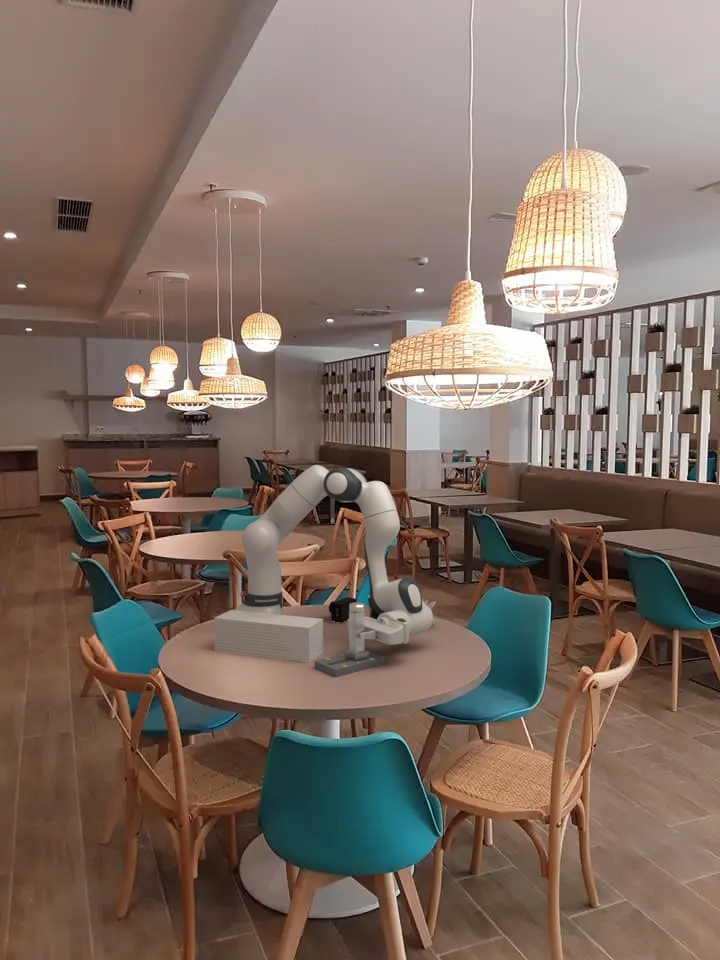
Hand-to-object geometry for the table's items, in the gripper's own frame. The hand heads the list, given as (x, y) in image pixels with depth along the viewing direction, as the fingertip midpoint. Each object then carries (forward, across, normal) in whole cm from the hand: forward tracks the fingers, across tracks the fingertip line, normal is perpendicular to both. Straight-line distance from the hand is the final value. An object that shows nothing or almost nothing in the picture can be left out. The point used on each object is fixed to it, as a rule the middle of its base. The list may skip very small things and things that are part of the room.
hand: (354, 634), depth 217 cm
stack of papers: (+13, -26, +10) cm, 31 cm away
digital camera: (-29, -42, +9) cm, 52 cm away
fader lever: (-1, 0, +7) cm, 7 cm away
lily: (-43, -15, +9) cm, 47 cm away
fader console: (+2, 0, +9) cm, 9 cm away
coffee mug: (-33, -27, +9) cm, 44 cm away
